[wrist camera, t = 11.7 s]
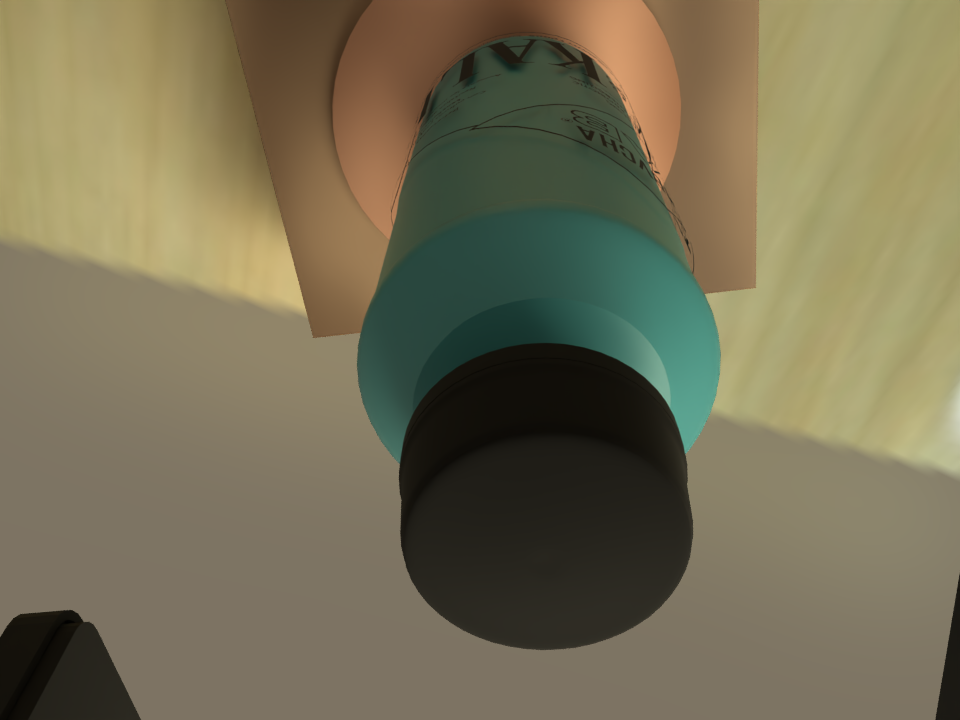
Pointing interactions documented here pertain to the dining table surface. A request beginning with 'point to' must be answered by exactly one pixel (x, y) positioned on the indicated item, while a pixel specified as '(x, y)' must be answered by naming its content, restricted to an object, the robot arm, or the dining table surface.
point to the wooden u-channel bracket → (413, 68)
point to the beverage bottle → (538, 354)
